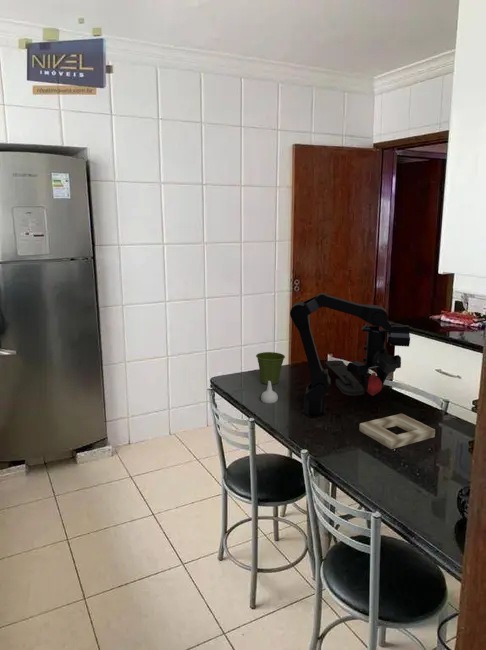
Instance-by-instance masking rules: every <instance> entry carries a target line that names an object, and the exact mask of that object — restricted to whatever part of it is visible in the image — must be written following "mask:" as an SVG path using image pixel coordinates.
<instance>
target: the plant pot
mask: <svg viewBox="0 0 486 650" xmlns="http://www.w3.org/2000/svg"><path fill="white" fill-rule="evenodd" d="M255 357H256V358H257V363H258V369H259V370H258V371H259V377H260V382H261V383H262V384H264V385H268V381H271V385H277V384H278V383H279V380H280V375H281V372H282V365H283V362H284V359H286V355H285V354H283V353H280V352H275V351H274V352H272V351H265V352H263V351H262V352H258V353H257V354H256V355H255Z"/></svg>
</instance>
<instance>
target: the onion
mask: <svg viewBox="0 0 486 650" xmlns="http://www.w3.org/2000/svg"><path fill="white" fill-rule="evenodd" d="M371 374H372V375H371V376H370V377H369V381H368V389H367V391H366V392H367V394H369V395H370V396H372V397H373V396H375V395H377V394H378V393H380V392H381V391H382V389H383V386H382V382H381V380H380V378H379V377H377V372H372V373H371Z"/></svg>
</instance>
